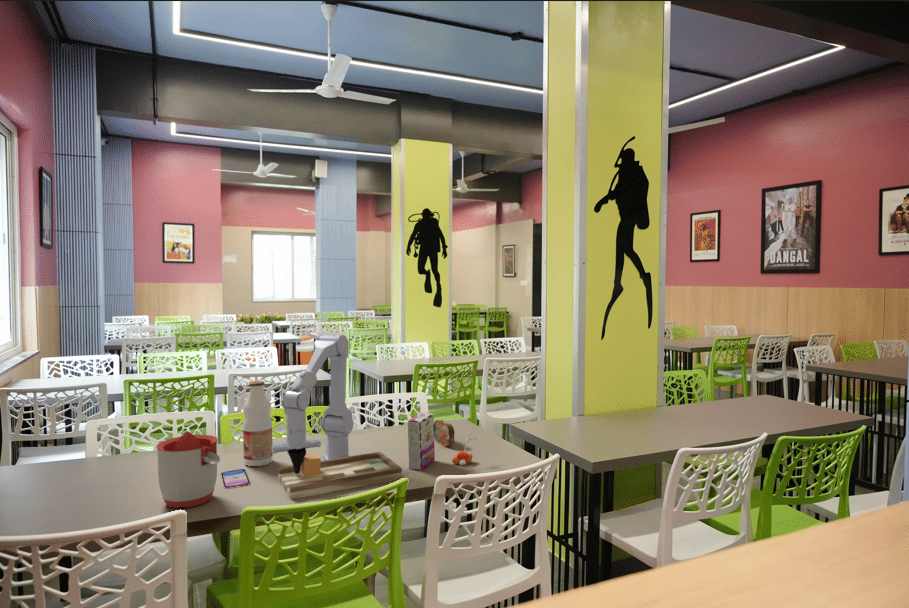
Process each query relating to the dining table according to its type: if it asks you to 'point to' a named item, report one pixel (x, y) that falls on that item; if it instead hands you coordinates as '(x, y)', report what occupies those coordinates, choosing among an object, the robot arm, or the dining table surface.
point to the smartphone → (235, 478)
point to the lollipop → (463, 454)
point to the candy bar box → (421, 441)
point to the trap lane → (340, 475)
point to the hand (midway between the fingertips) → (297, 472)
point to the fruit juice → (257, 427)
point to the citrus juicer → (187, 469)
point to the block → (311, 465)
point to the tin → (443, 433)
